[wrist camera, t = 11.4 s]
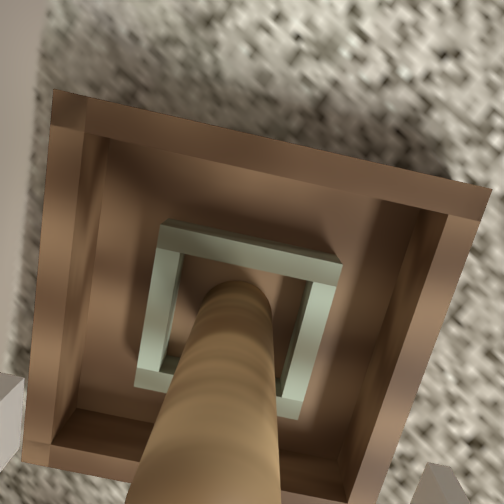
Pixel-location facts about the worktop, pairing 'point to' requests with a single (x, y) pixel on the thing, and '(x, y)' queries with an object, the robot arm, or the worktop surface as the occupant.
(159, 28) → the worktop surface
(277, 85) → the worktop surface
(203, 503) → the peg
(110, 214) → the box
